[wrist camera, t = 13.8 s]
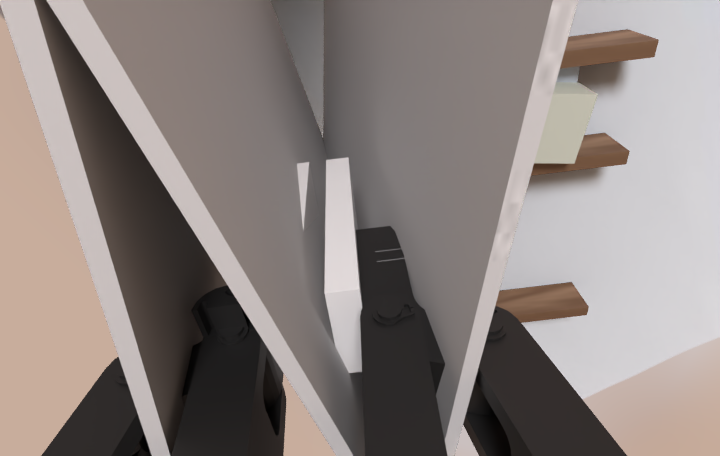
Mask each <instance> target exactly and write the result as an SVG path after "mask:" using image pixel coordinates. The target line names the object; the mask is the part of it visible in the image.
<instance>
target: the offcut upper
mask: <svg viewBox="0 0 720 456" xmlns="http://www.w3.org/2000/svg"><path fill="white" fill-rule="evenodd" d="M597 96H598V94H596V93H595V92H593V91H592V90H590V89H588V88H587V87H585V86H584V85H582V84H580V83H576V82H556V84H555V88H554V92H553V95H552V99H551V103H550V106H549V110H548V114H547V118H546V121H545V125H544V129H543V132H542V136H541V140H540V143H539V147H538V151H537V154H536V158H535V162H534V163H560V164H574V163H575V160H576V157H577V155H578V152H579V149H580V146H581V143H582V140H583V137H584V134H585V131H586V128H587V125H588V122H589V120H590V117H591V114H592V111H593V108H594V105H595V102H596V99H597Z"/></svg>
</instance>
